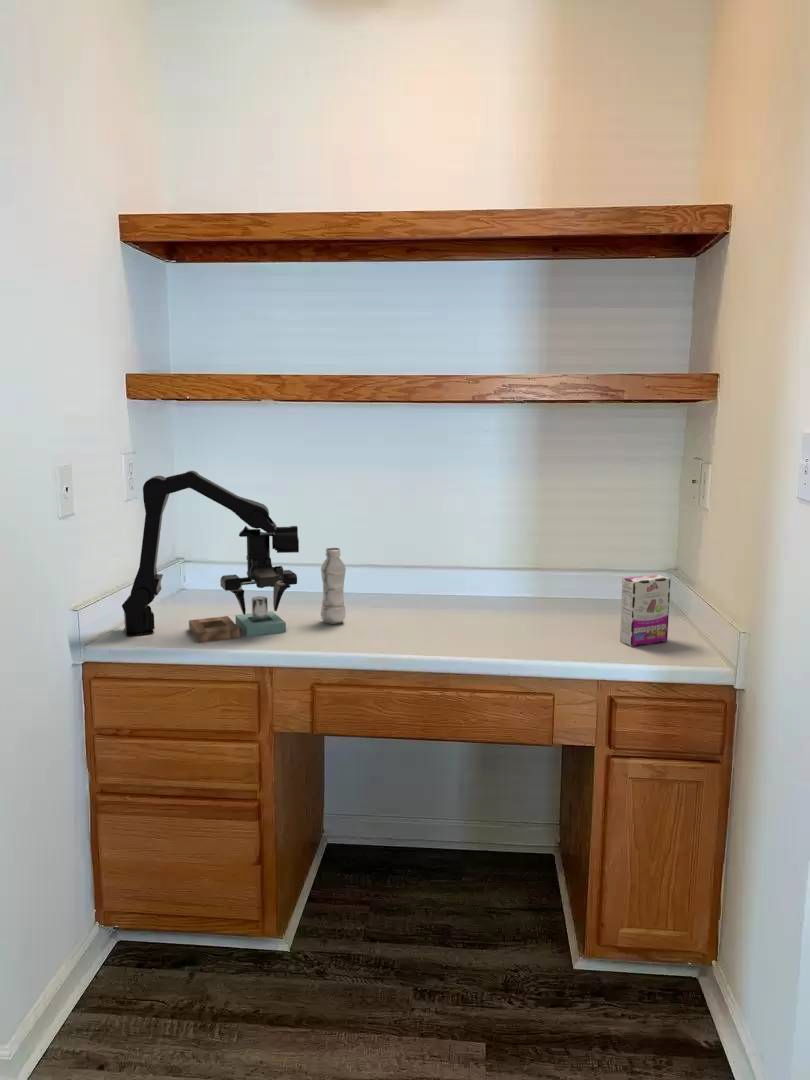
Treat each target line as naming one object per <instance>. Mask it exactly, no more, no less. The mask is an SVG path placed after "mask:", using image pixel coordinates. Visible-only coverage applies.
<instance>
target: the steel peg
mask: <svg viewBox="0 0 810 1080" xmlns="http://www.w3.org/2000/svg"><path fill="white" fill-rule="evenodd" d="M268 612H269V611H268V597H267V596H262V595H261V596H253V597H252V598H251V613H252V623H255V622H263V621H268Z"/></svg>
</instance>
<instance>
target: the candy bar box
mask: <svg viewBox="0 0 810 1080" xmlns="http://www.w3.org/2000/svg"><path fill="white" fill-rule="evenodd" d="M621 584H622V587H621V609H620V631H619V632H620V633H619V634H620V636H619V641H620V642H621V643H622V642H623V643H622V644H624V643H625V645H626V644H627V645H626V646H629V647H631V646H634V647H640V645H642V646H647V645H653V644H654V645H655V644H662V643H666V642H668V634H669V633H668V631H669V615H670V613H669V609H670V599H671V598H670V595H671V577H669V576H665V575H663V574H650V575H640V576H633V577H632V576H630V577H623V578H622V582H621Z"/></svg>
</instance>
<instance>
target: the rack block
mask: <svg viewBox="0 0 810 1080" xmlns="http://www.w3.org/2000/svg"><path fill="white" fill-rule="evenodd" d="M235 624H236V625H237V626H238V627H239V631H241V632H242V633H243V634H244V635H245V636H246V637H248V638H249V637H255V636H264V635H266V636H267V635H272V634H280V633H281V634H282V633H286V632H287V624H286V621H284V619H282V617H280V616H279V615H277V614H276V613H275V611H274V610H273V611H268V621H263V622H255V623H252V612H251V613H245V615H244V614H243V613H241V614H236V615H235Z"/></svg>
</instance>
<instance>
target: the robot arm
mask: <svg viewBox="0 0 810 1080" xmlns="http://www.w3.org/2000/svg"><path fill="white" fill-rule="evenodd" d="M142 486H143V487H142V496H143V497H142V498H143V505H144V506H143V507H144V509H145V510H144V511H145V517H144V523H143V524H144V525H143V534H142V541H141V542H142V543H141V550H140V551H141V552H140V558H139V559H140V560H139V568H138V570H137V573H136V575H135V577H134V582H133V584H132V587H131V591H130V594H129V596H128V597H127V598H126V599H125V601H124V602H123V603H122V604H121V607H122V610H123V614H124V615H123V616H124V628H123V632H124V633H125V635H126V637H133V636H144V635H149V634H150V635H151V634H152V635H153V634H154V633H155V632H154V630H155V628H156V627H155V613H154V612H153V611H152V608H151V606H150V604H151V603H152V602H154V600H155V598H156V596H158V595H159V593H160V592H161V590H162V585H161V584H162V580H163V574H162V573H159V574H158V570H157V563H158V562H157V561H158V553H159V546H160V545H159V544H160V537H161V530H162V520H163V514H164V511H165V508H166V506H167V504H168V499H169V496H170V494H173V493H177V492H180V491H182V490H187V489H191V490H193V491H195V492H197V493H199V494H201V495H203V496H204V497H206V498H208V499H210V501H213V502H215V503H217V504H219V505H221V506H223V507H224V508H226V509H228V510H230V511H231V512H232V513H234V514H235V515H236V516H237V517H238V518H239V519H240V520H241V521H243V522H244V523H246V525H248V526H249V527H250V528H249V527H248V526H246V525H244V528H243V529H242V530H241V531H240V532H239V533H238V536H239V537H241V538H242V537H243V538H244V537H245V538H246V554H247V555H246V562H247V564H246V565H247V567H246V568H247V571H246V576H244V577H239V575H237V574H227V575H226V574H225V575H222V576H221V578H220V587H221V588H222V589H223V590H224V591H226V592H227V591H228V592H229V591H230V592H231V593H233V594H234V596H235V598H236V600H237V601H238V605H239V608H240V609H241V612H242V614H244V615H245V614H246V610H247V608H246V601H245V590H244V589H243V588H242V587H243V586H245V585H246V586H248V585H255V586H256V587H257V588H259V589H264V588H269V587H270V588H273V594H272V595H273V596H272V598H273V600H272V601H273V602H272V603H273V604H272V605H273V612H277V611H278V608H279V605H280V602H281V599H282V597H283V594H284V592H285V590H287V589H290V588H291V586H292V585H297V584H298V576H297V574H296V573H295V572H294V571H292V570H290V569H285V570H284V568H283V566H282V565H278V566H276V565H275V566H273V564H272V558H271V547H272V550H274V551H276V553H277V554H282V553H283V554H286V553H289V554H290V553H295V554H296V553H299V552H300V551H299V550H300V549H299V548H300V547H299V546H300V541H299V535H298V533H299V529H298V528H299V527H298V526H297V525H291V526H277V523H276V522H274V521H273V519H272V518H271V517H270V511H269V508H268V507H267V506H266V505H265V504H263V503H262V502H259V501H255V500H252V499H249V498H247V497H246V498H245V497H242V496H239V495H237V494H236V493H234V492H231V491H230V490H228V489H226V488H224V487H222V486H220V485H219V484H218V483H216V482H214V481H212V480H210V479H209V478H206V477H204V476H203V475H201V474H199V472H197V471H195V470H189V471H188V470H187V471H186V472H183V473H179V474H174V475H170V476H167V477H165V476H163V475H155V476H152V477H151V478H149V479H147V480H146V481H145V482H144V484H143V485H142ZM261 530H262V531H261ZM263 531H264V532H263ZM270 538H271V539H272V540H271V543H270ZM271 544H272V545H271ZM270 546H271V547H270Z"/></svg>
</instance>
